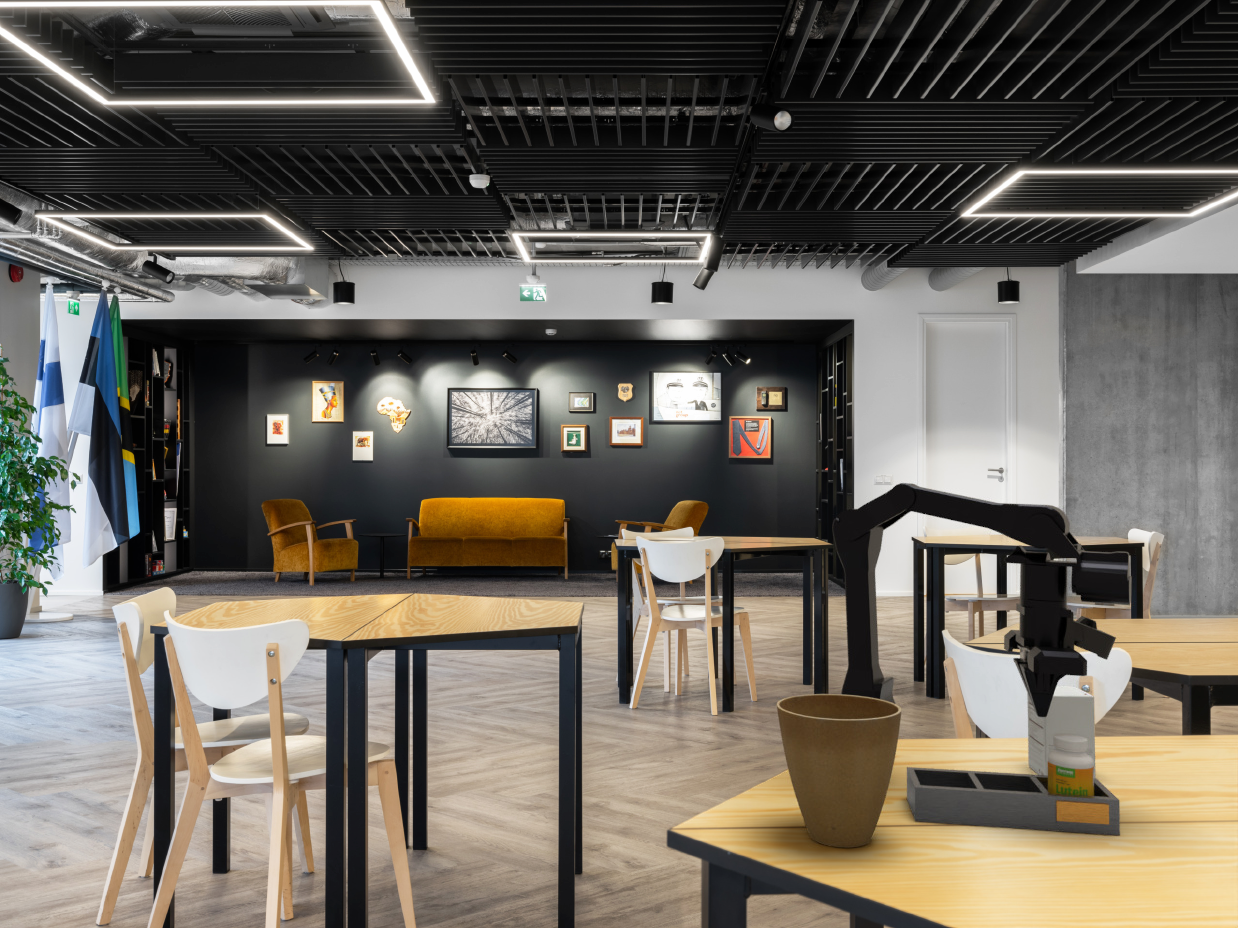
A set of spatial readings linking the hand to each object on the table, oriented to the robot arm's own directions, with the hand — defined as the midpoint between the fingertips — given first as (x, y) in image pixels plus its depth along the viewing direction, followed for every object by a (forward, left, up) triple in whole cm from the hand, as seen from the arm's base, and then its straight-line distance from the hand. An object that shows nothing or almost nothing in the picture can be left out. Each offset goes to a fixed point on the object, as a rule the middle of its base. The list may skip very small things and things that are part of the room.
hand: (1041, 716), depth 122 cm
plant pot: (-27, -15, -13) cm, 33 cm away
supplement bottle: (+3, -3, -12) cm, 12 cm away
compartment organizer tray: (-5, -3, -13) cm, 14 cm away
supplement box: (+7, +18, -13) cm, 23 cm away
